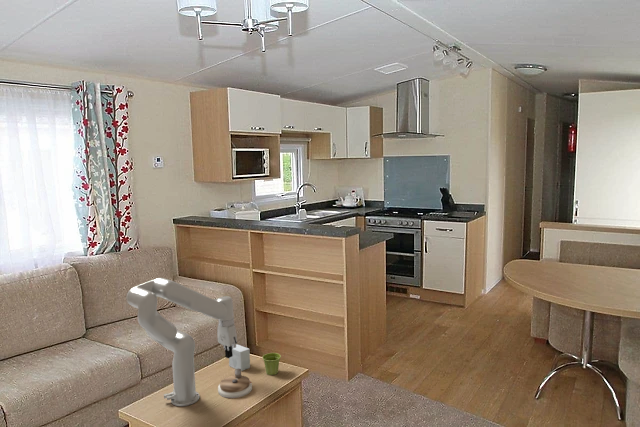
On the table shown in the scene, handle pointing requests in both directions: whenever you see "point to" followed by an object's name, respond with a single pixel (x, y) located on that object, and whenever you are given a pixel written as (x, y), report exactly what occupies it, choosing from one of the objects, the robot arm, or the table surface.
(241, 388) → the dial
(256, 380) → the table surface
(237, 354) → the skincare box
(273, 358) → the plant pot
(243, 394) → the stand
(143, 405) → the table surface
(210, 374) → the table surface
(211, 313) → the robot arm
